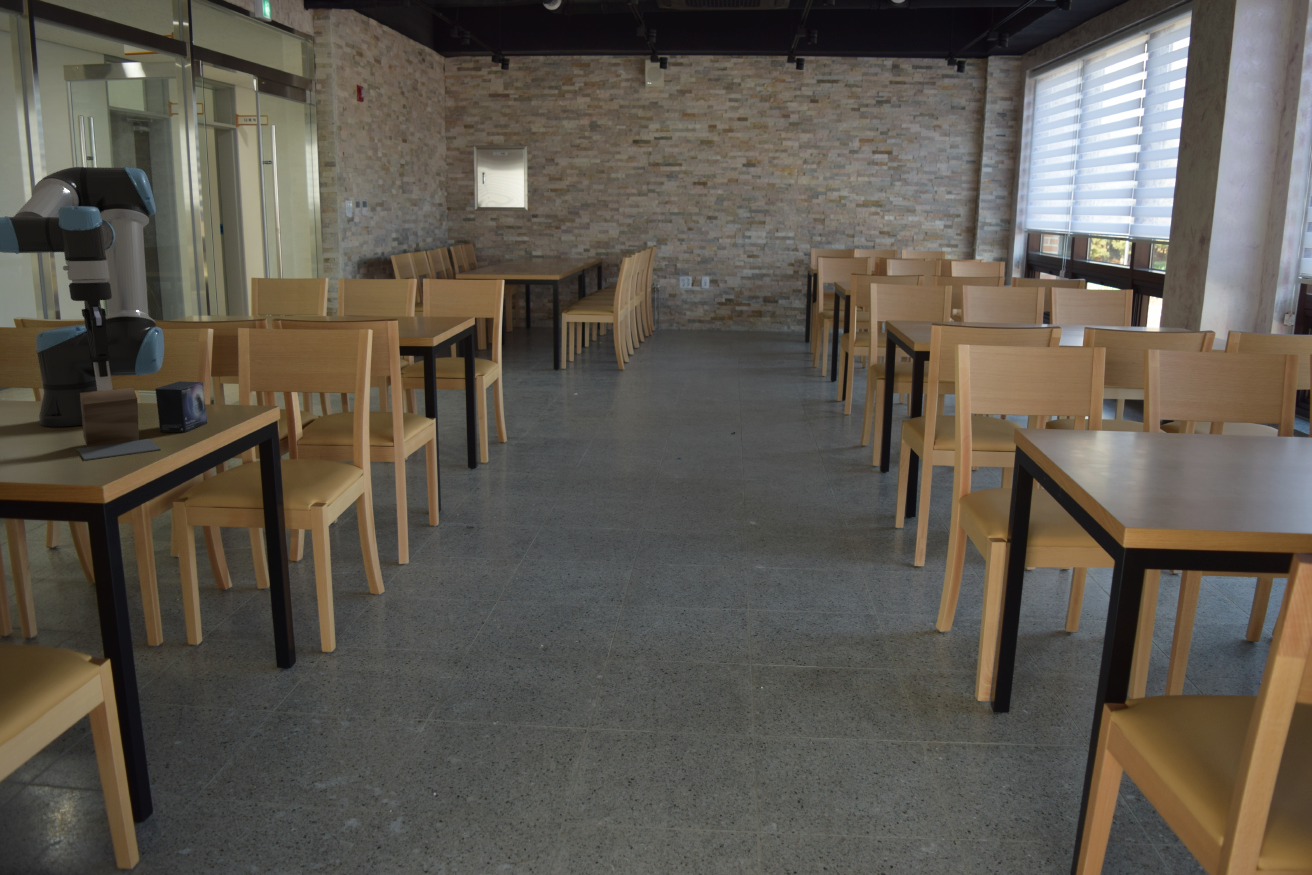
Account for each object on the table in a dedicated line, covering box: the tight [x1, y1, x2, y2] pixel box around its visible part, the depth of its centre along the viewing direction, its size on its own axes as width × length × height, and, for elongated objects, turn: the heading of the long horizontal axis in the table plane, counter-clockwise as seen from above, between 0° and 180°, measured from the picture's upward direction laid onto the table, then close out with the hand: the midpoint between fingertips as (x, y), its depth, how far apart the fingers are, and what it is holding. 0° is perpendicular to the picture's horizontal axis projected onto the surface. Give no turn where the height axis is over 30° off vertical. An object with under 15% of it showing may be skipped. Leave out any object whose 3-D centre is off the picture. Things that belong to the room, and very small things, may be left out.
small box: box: [154, 380, 208, 433], centre depth 215 cm, size 11×6×10 cm, turn 179°
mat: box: [76, 438, 161, 462], centre depth 195 cm, size 12×14×1 cm
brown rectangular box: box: [80, 387, 140, 447], centre depth 198 cm, size 4×10×12 cm, turn 129°
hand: (105, 391), depth 197 cm, fingers closed
